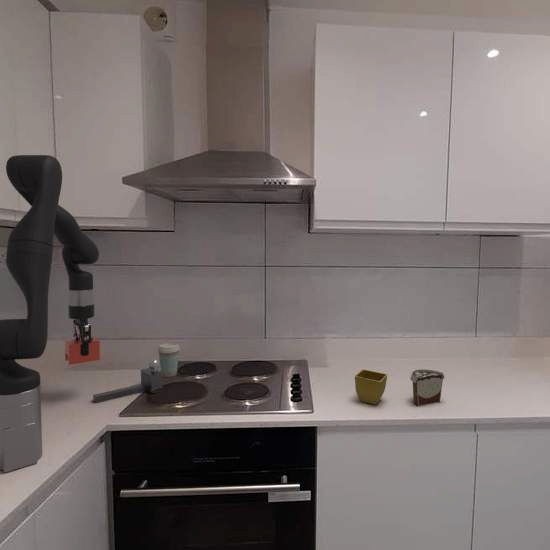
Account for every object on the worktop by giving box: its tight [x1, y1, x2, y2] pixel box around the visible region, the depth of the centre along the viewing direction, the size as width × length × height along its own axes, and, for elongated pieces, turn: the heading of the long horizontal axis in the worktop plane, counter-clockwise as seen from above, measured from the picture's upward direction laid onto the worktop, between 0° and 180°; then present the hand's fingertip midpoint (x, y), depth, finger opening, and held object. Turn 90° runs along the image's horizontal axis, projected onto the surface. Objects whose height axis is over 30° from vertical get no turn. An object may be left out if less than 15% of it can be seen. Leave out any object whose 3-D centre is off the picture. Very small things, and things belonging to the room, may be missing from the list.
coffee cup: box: [157, 342, 181, 378], centre depth 143 cm, size 8×8×12 cm
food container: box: [410, 369, 445, 407], centre depth 121 cm, size 12×6×10 cm, turn 111°
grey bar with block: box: [92, 358, 164, 404], centre depth 123 cm, size 10×22×11 cm, turn 130°
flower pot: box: [354, 369, 388, 405], centre depth 120 cm, size 9×9×9 cm
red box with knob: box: [64, 336, 101, 365], centre depth 119 cm, size 6×9×7 cm
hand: (82, 353), depth 119 cm, fingers closed on red box with knob, 6 cm apart
